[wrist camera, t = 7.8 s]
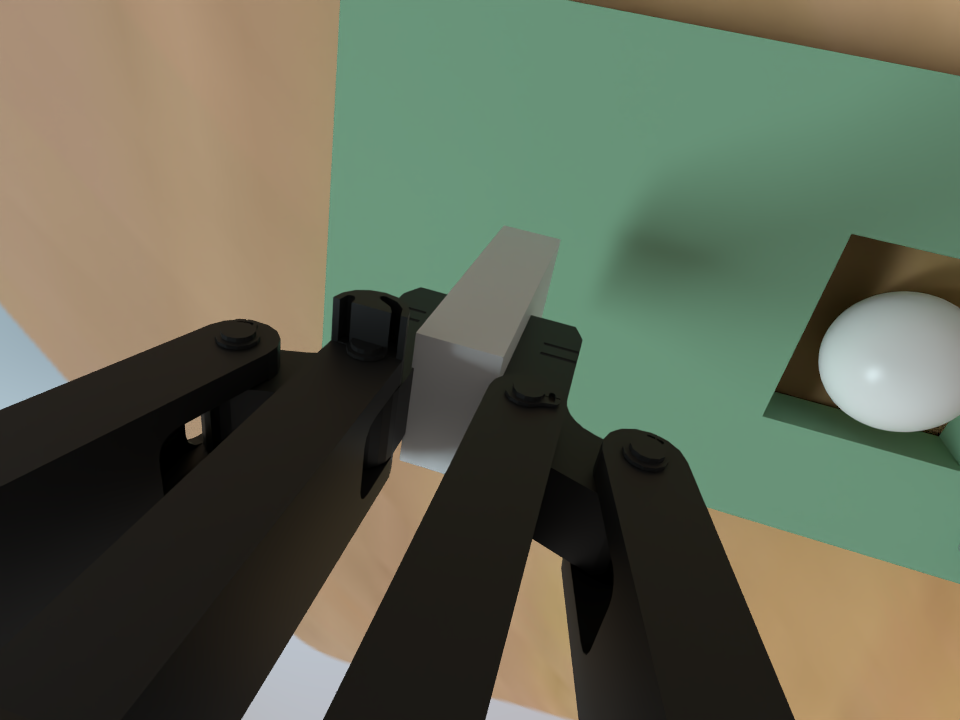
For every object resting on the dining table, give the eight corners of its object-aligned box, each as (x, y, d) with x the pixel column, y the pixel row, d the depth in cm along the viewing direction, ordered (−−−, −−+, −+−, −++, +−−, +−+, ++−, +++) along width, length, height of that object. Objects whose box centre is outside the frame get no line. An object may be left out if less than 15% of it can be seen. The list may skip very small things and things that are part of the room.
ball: (827, 261, 18) (906, 318, 15) (956, 280, 18) (1063, 342, 15) (776, 375, 20) (834, 451, 17) (892, 392, 20) (975, 470, 17)
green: (372, -35, 18) (158, -97, 10) (1387, 162, 14) (2227, 293, 7) (341, 384, 25) (202, 532, 18) (1013, 586, 22) (1209, 884, 14)
